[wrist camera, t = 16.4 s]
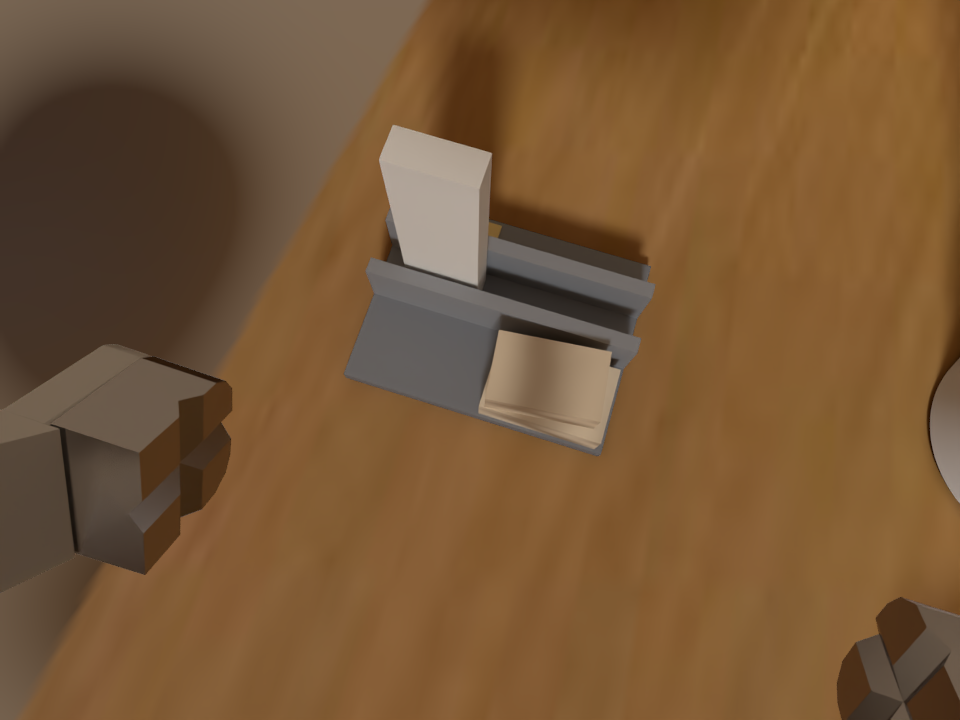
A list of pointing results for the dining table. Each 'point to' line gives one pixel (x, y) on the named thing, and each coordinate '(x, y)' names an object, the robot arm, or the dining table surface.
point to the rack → (494, 317)
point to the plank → (439, 204)
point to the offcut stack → (550, 387)
